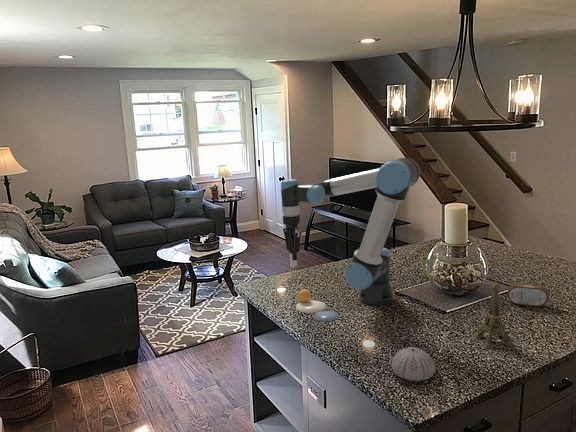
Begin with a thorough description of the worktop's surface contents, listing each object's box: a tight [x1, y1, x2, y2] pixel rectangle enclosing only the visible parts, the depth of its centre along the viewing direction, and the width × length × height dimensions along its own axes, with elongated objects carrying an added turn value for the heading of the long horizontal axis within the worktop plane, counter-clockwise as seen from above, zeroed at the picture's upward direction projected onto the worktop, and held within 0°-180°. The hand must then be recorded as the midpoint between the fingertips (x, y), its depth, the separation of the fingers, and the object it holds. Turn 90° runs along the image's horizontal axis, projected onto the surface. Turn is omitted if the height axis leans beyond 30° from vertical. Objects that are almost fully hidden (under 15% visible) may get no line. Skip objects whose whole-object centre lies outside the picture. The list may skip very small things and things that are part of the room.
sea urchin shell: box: [390, 346, 436, 382], centre depth 147 cm, size 13×14×8 cm
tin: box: [506, 283, 549, 307], centre depth 192 cm, size 15×3×8 cm, turn 65°
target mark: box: [295, 300, 327, 314], centre depth 203 cm, size 13×13×1 cm
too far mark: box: [313, 310, 339, 323], centre depth 192 cm, size 10×10×1 cm
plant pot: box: [420, 255, 428, 277], centre depth 231 cm, size 9×9×9 cm
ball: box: [297, 288, 311, 302], centre depth 208 cm, size 6×6×6 cm
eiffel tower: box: [471, 278, 517, 350], centre depth 163 cm, size 11×11×25 cm
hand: (293, 266), depth 212 cm, fingers closed
